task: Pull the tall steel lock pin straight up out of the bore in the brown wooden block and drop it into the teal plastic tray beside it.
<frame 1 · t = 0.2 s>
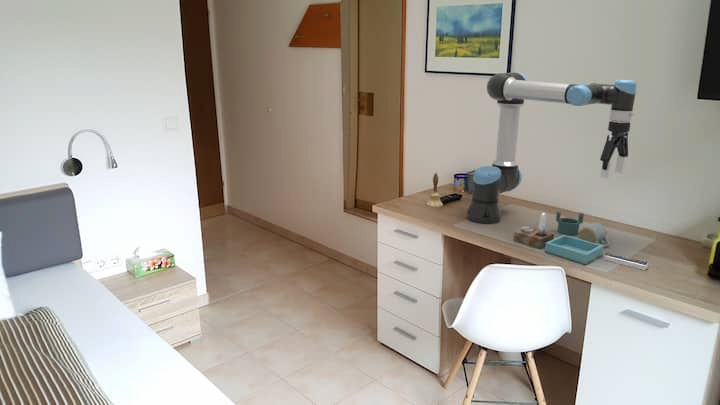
hand: (611, 175, 212), 28 cm above the table, tool pointing down, fingers open, 13 cm apart
bracket: (567, 232, 230), on the table
brown wooden block: (533, 241, 217), on the table
hand bell: (434, 205, 266), on the table
ceramic mug: (594, 243, 217), on the table
tray: (573, 253, 205), on the table
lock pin: (539, 243, 215), resting in brown wooden block
multiport hub: (624, 264, 197), on the table
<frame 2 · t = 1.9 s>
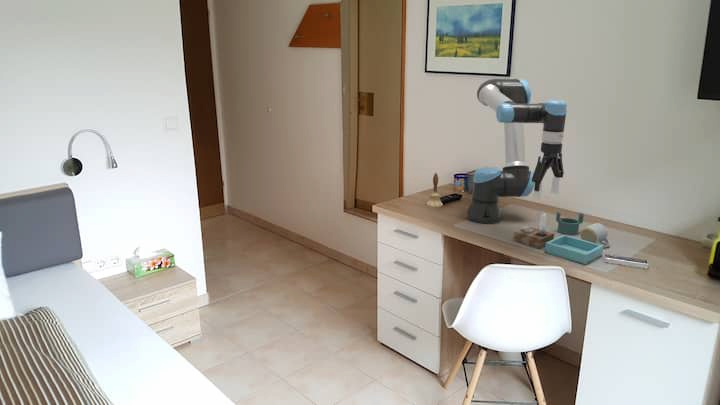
hand: (545, 196, 209), 20 cm above the table, tool pointing down, fingers open, 13 cm apart
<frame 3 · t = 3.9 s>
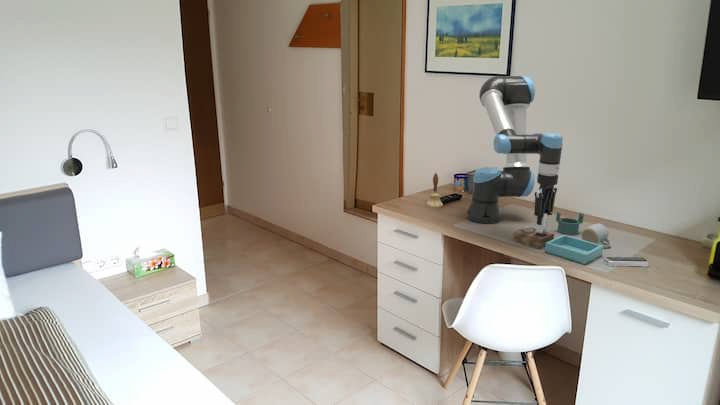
hand: (541, 230, 213), 6 cm above the table, tool pointing down, fingers closed on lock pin, 3 cm apart
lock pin: (539, 243, 215), resting in brown wooden block, touching gripper
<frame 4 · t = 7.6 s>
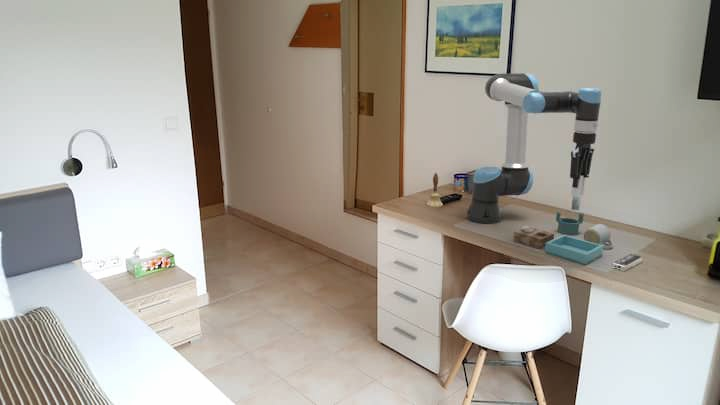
hand: (577, 194, 199), 23 cm above the table, tool pointing down, fingers closed on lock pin, 3 cm apart
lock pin: (575, 209, 201), point 18 cm above the table, touching gripper
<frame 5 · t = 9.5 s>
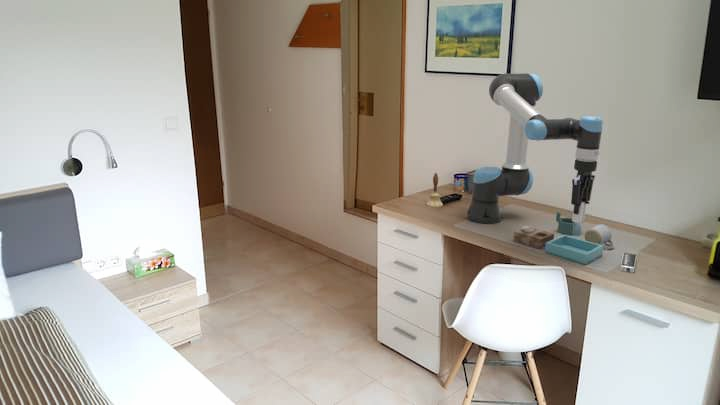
hand: (578, 220, 201), 13 cm above the table, tool pointing down, fingers closed on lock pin, 3 cm apart
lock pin: (576, 234, 203), point 8 cm above the table, touching gripper
when the fingers open (7 cm above the table, at t = 11.2 s): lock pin drops 2 cm, resting on tray.
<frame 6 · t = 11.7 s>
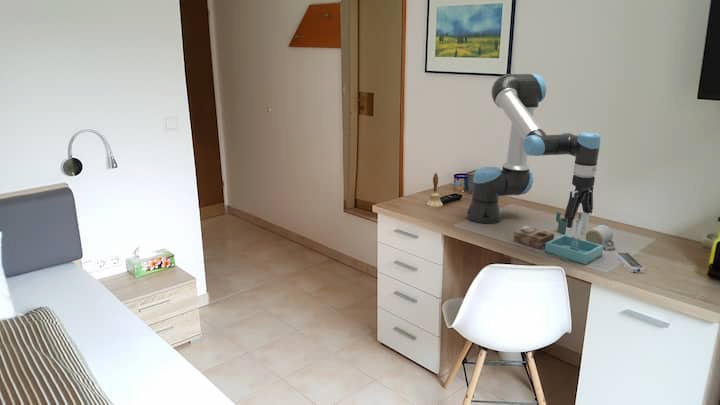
hand: (576, 232, 203), 9 cm above the table, tool pointing down, fingers open, 10 cm apart
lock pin: (573, 252, 205), point 1 cm above the table, touching tray
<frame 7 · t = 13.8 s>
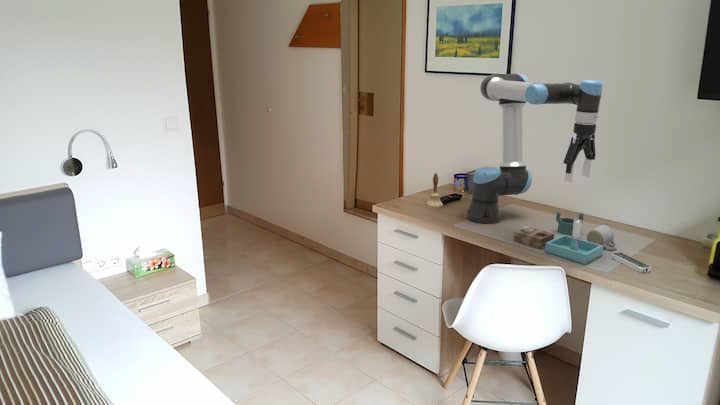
hand: (576, 178, 204), 28 cm above the table, tool pointing down, fingers open, 13 cm apart
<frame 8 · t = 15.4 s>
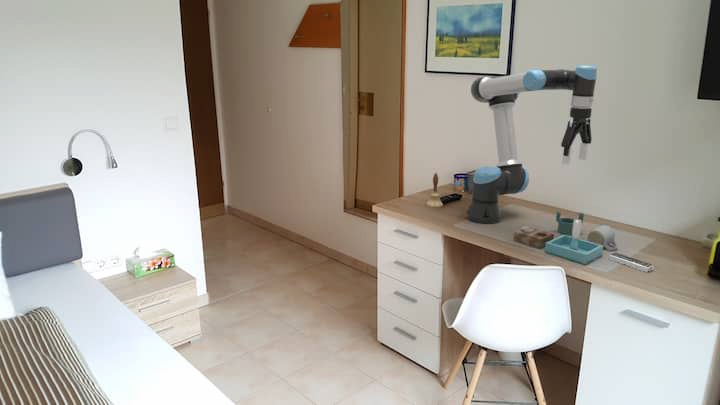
hand: (574, 161, 211), 33 cm above the table, tool pointing down, fingers open, 13 cm apart
at the end: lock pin inside the target area on the tray (0.0 cm from its centre), point 0.6 cm above the tray's base; the gripper is holding nothing; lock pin moved 14.0 cm from its start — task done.
